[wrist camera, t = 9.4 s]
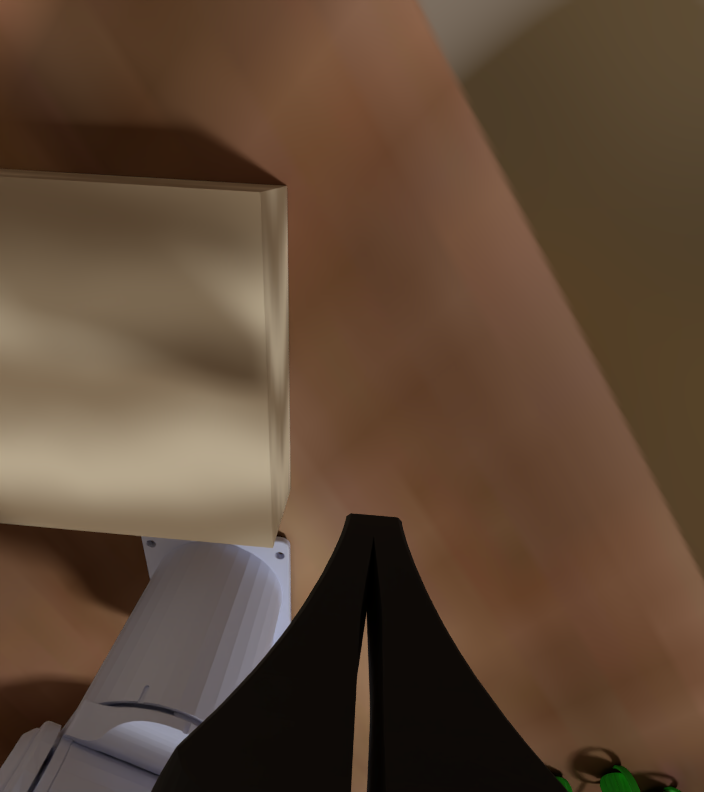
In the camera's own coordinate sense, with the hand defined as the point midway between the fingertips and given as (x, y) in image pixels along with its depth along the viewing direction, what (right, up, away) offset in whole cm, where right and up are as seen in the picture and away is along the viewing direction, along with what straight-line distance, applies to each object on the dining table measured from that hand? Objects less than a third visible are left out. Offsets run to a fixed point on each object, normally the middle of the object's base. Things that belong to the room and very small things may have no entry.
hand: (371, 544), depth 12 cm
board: (-10, +6, +8) cm, 15 cm away
